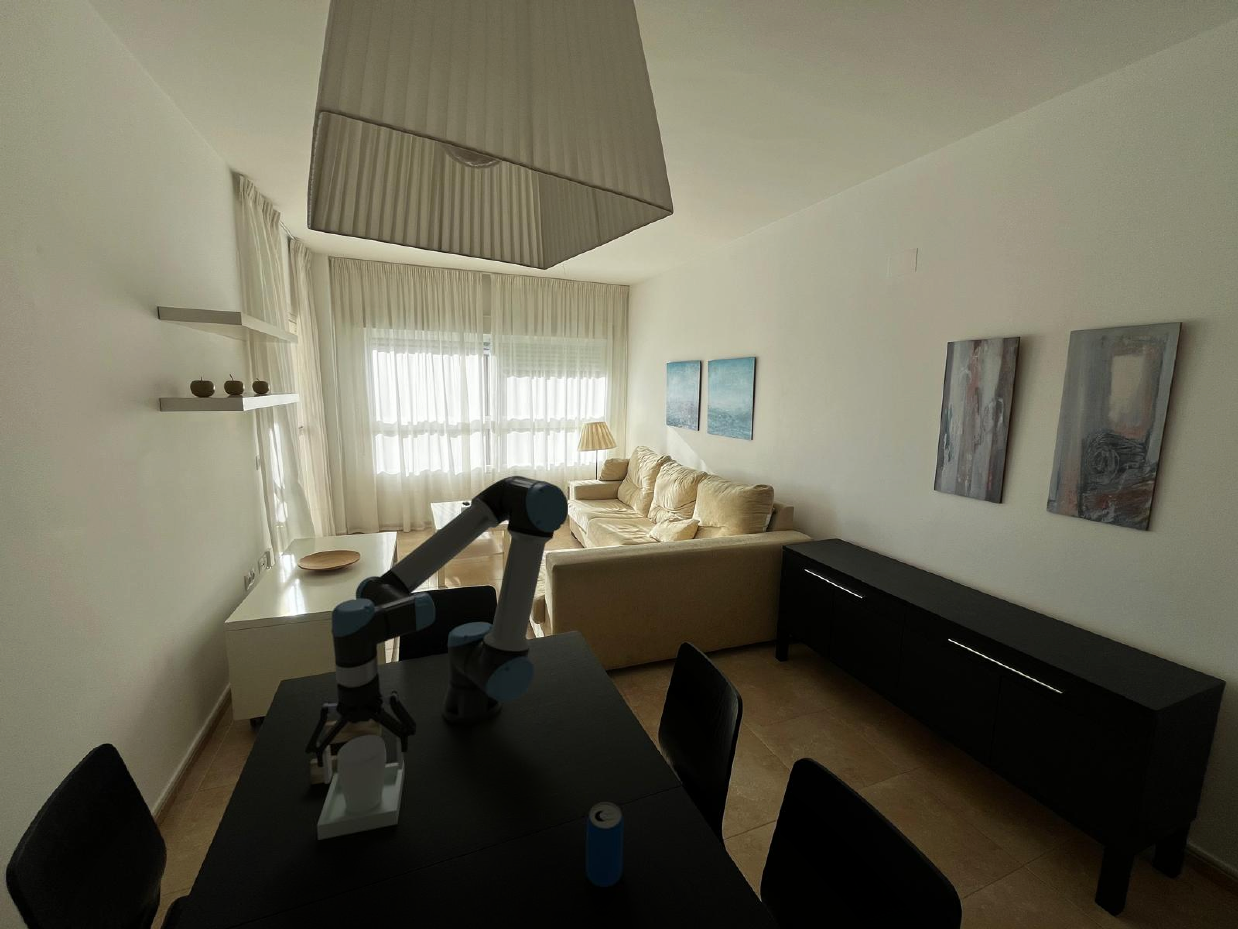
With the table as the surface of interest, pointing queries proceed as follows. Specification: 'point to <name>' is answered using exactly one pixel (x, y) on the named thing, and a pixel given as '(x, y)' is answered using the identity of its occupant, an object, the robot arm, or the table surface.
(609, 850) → the beverage can
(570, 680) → the table surface
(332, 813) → the tray
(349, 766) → the cup
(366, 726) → the rest
